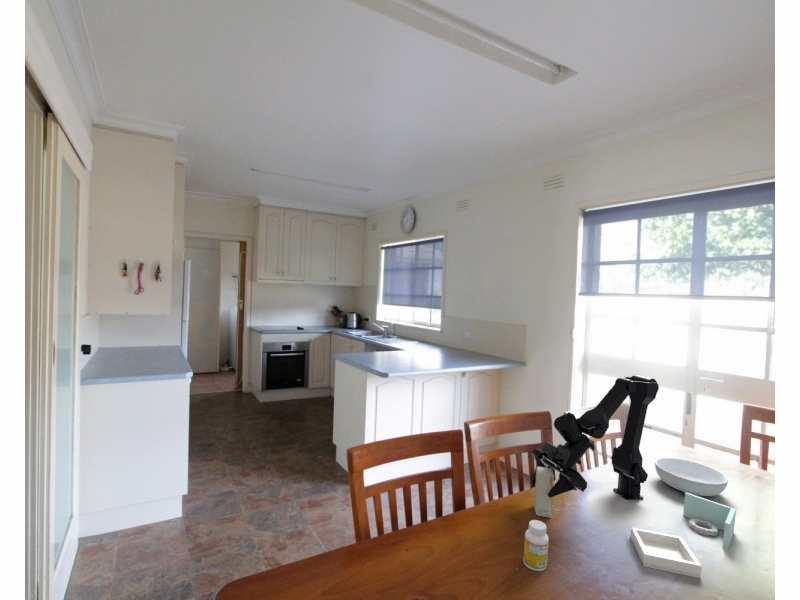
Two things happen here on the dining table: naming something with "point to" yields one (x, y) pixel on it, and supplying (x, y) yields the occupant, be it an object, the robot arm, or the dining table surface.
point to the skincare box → (543, 491)
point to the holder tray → (665, 552)
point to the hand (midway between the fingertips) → (540, 490)
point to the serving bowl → (691, 476)
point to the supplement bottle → (536, 546)
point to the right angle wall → (710, 517)
